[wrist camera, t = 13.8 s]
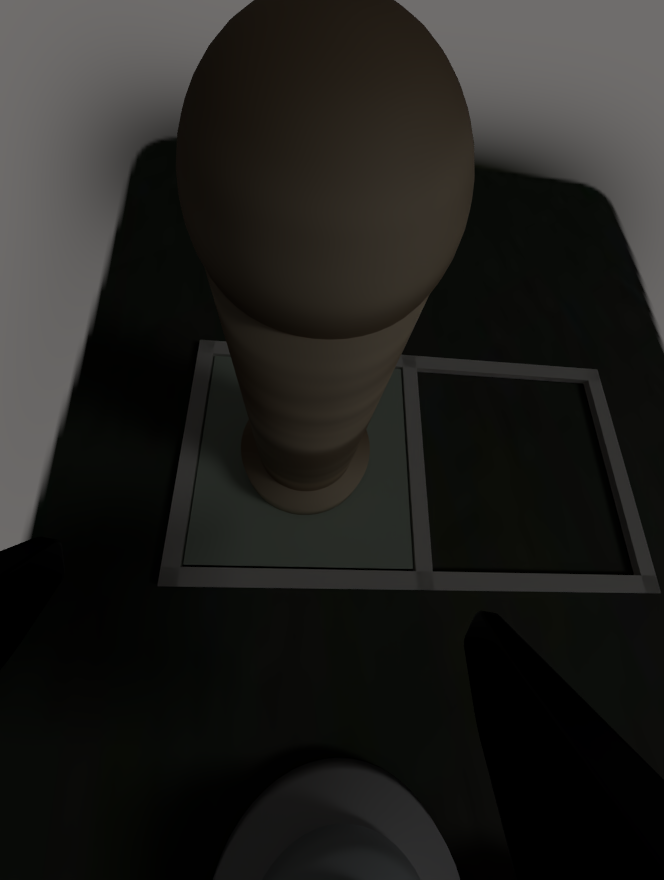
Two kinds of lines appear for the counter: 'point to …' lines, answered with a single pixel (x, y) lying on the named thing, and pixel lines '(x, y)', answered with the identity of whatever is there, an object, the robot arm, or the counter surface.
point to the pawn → (321, 220)
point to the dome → (342, 857)
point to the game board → (354, 498)
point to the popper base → (334, 818)
